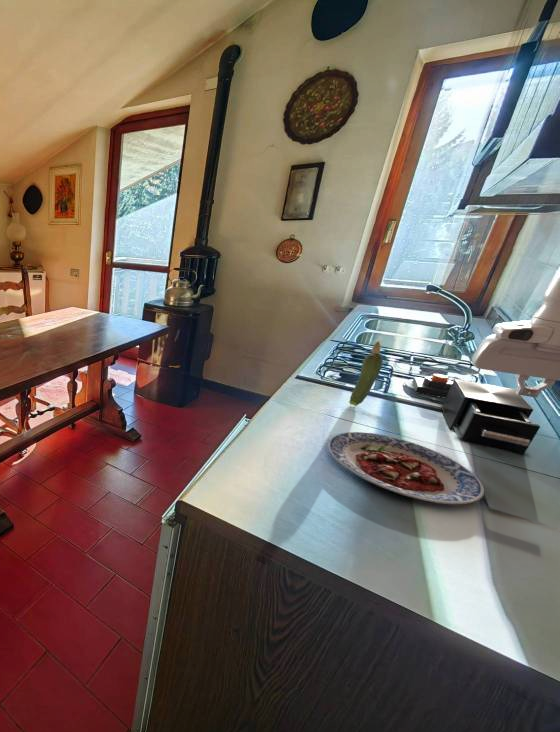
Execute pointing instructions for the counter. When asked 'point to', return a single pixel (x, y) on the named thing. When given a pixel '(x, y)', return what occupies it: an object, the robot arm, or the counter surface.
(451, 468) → the ceramic plate
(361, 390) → the vegetable
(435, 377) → the button
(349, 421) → the counter surface
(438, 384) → the control block
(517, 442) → the small drawer unit
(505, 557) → the counter surface
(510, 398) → the cabinet
